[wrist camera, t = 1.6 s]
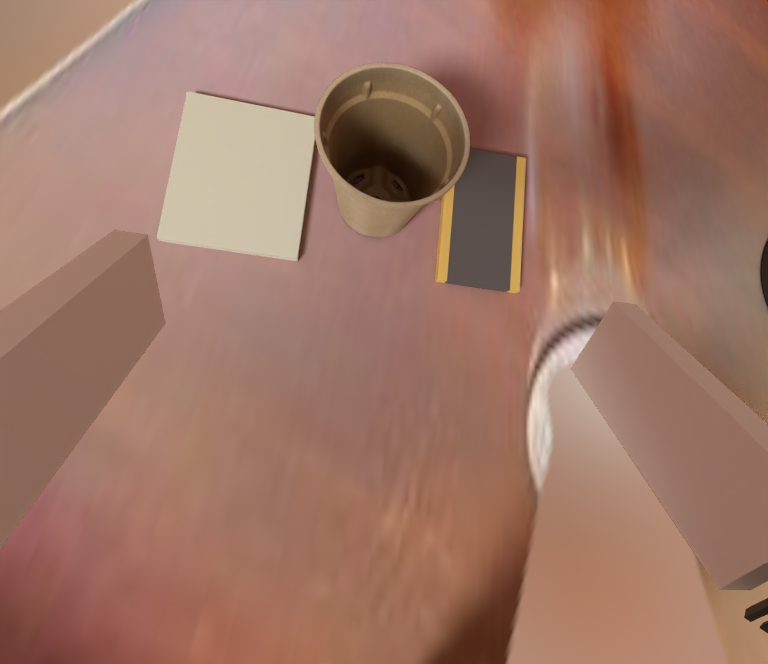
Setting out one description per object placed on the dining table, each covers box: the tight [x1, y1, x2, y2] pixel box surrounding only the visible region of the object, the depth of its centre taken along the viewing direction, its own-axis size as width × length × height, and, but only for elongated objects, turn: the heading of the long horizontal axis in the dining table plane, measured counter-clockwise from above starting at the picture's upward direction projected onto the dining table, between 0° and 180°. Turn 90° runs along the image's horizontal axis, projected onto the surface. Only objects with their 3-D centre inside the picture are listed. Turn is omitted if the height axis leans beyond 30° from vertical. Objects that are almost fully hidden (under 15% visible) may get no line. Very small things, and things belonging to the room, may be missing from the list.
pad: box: [157, 91, 315, 261], centre depth 29 cm, size 10×12×1 cm
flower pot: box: [314, 62, 470, 237], centre depth 26 cm, size 9×9×9 cm
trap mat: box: [435, 148, 526, 293], centre depth 31 cm, size 7×12×1 cm, turn 173°
